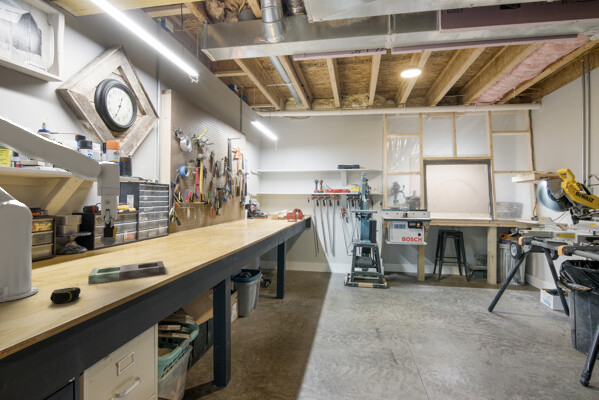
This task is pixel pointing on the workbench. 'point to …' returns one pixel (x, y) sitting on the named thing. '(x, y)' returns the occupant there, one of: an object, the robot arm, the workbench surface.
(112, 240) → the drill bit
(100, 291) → the workbench surface
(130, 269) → the block
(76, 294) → the tape measure
